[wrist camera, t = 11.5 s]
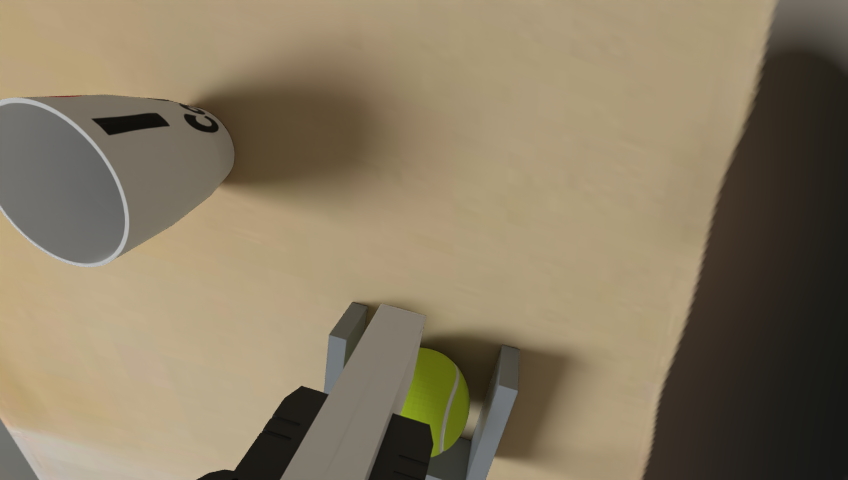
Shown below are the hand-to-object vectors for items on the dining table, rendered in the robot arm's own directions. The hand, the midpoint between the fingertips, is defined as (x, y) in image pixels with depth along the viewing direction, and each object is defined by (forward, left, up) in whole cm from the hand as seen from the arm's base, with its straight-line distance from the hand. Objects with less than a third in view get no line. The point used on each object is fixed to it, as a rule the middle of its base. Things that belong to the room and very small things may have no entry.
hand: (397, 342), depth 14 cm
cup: (0, -18, -14) cm, 23 cm away
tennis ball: (+13, 0, -14) cm, 19 cm away
